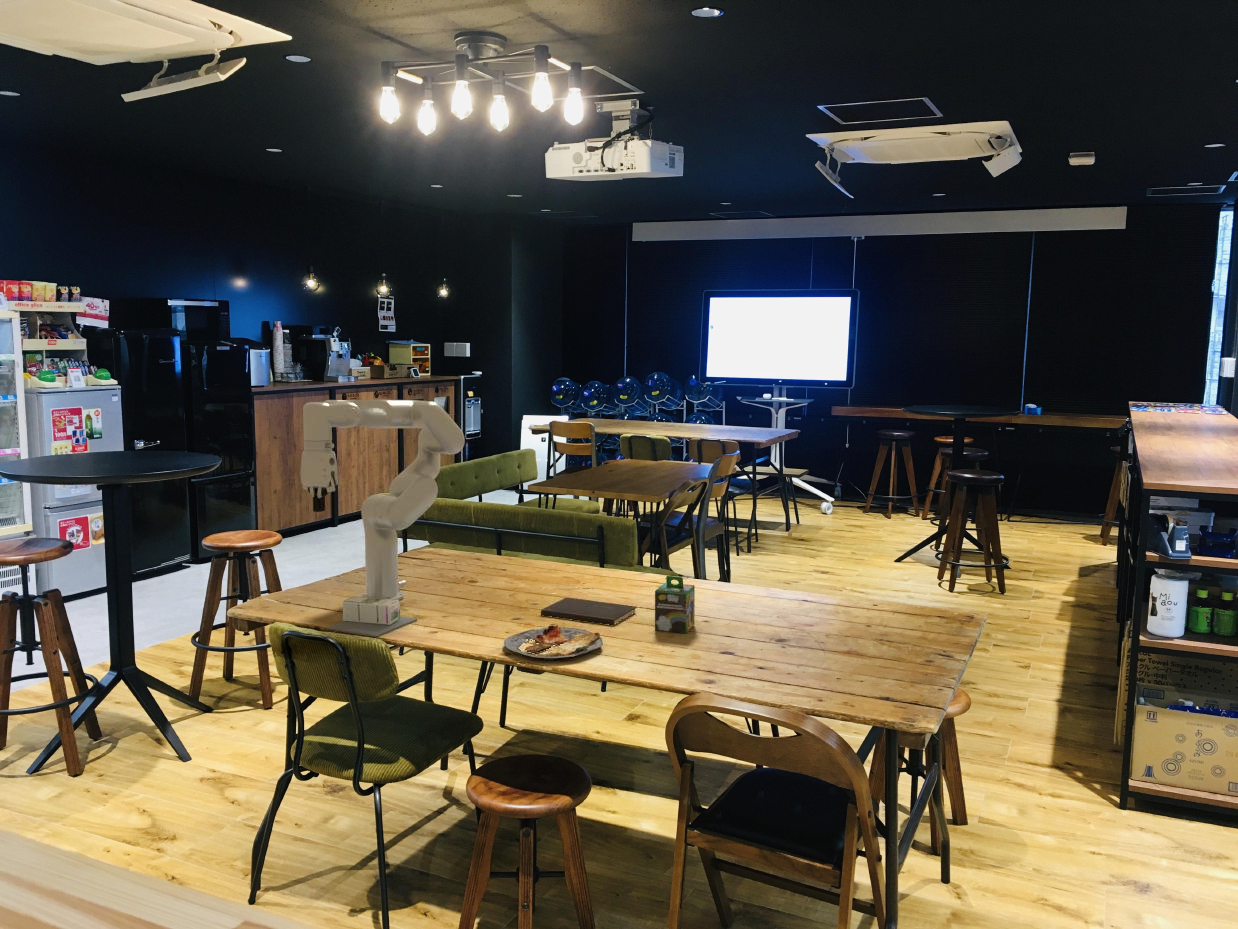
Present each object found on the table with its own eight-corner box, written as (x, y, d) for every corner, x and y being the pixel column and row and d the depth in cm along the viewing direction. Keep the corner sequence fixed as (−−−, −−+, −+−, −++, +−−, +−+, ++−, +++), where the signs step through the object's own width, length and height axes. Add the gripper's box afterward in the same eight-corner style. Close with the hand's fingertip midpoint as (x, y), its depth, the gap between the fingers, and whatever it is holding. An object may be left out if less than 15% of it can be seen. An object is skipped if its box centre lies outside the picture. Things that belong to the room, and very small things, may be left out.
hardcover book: (566, 604, 292) (566, 597, 292) (636, 614, 283) (636, 606, 282) (540, 617, 277) (540, 609, 277) (613, 628, 268) (613, 620, 268)
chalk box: (694, 625, 270) (696, 573, 268) (686, 634, 261) (687, 580, 260) (662, 622, 273) (664, 570, 271) (653, 630, 264) (654, 577, 263)
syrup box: (342, 621, 266) (390, 626, 263) (342, 600, 266) (390, 605, 262) (353, 615, 272) (400, 620, 268) (353, 595, 271) (400, 599, 267)
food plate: (554, 628, 264) (554, 616, 264) (620, 647, 250) (620, 633, 249) (486, 652, 245) (486, 638, 245) (554, 673, 231) (554, 659, 230)
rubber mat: (370, 613, 276) (370, 611, 276) (417, 620, 270) (417, 618, 270) (327, 629, 260) (327, 627, 260) (376, 637, 254) (376, 635, 254)
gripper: (348, 446, 272) (349, 511, 274) (306, 444, 278) (307, 507, 280) (330, 449, 266) (331, 515, 268) (287, 446, 272) (289, 511, 274)
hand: (319, 511), depth 274 cm, fingers closed
